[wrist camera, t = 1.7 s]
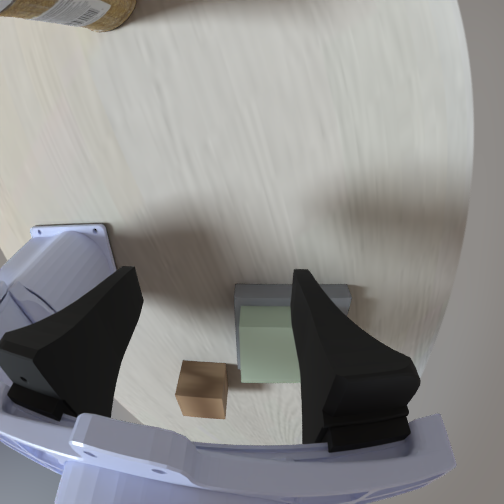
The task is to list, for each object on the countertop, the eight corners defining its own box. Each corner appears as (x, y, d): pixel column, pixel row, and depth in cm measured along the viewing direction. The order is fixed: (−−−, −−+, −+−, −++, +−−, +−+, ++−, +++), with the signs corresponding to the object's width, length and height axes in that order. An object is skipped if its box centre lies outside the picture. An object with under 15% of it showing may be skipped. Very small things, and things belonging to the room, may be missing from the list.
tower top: (242, 362, 29) (241, 382, 27) (240, 305, 25) (239, 326, 23) (319, 362, 29) (322, 381, 27) (334, 306, 25) (339, 326, 22)
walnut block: (189, 383, 35) (183, 415, 30) (182, 359, 32) (175, 395, 28) (228, 385, 34) (225, 419, 30) (225, 362, 32) (221, 399, 28)
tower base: (239, 351, 32) (237, 369, 29) (236, 279, 26) (234, 297, 24) (327, 350, 31) (331, 368, 29) (345, 280, 26) (351, 297, 24)
